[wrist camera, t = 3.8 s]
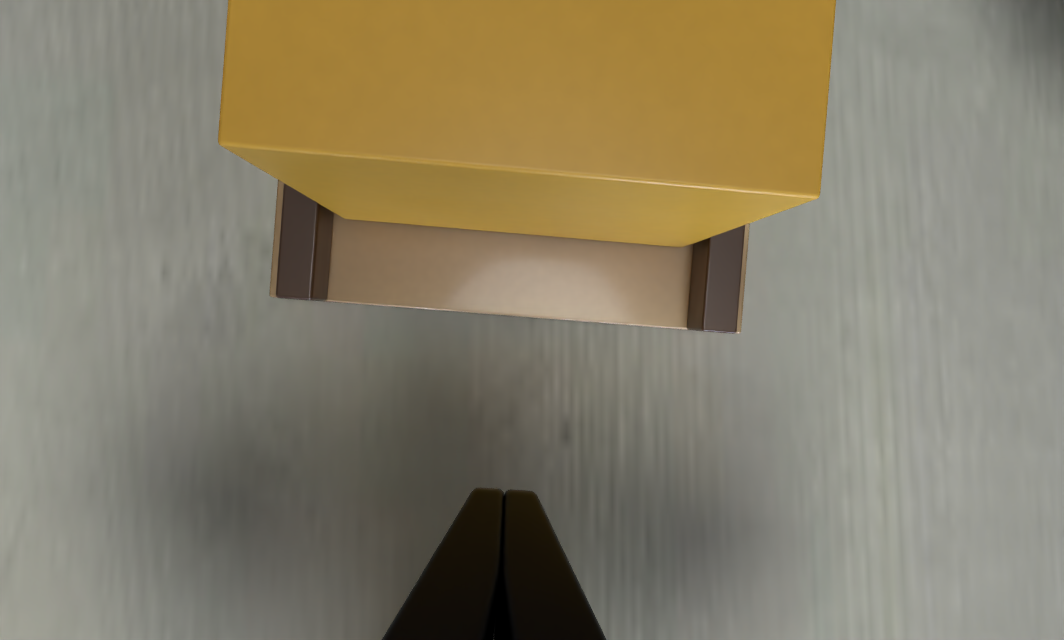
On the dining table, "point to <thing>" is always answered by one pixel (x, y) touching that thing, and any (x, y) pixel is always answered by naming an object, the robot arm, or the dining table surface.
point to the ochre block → (535, 111)
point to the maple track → (506, 271)
